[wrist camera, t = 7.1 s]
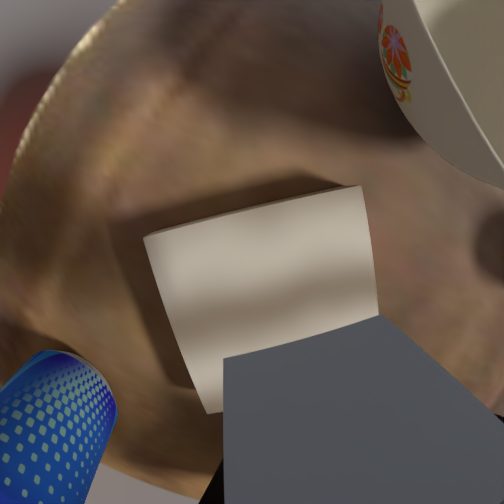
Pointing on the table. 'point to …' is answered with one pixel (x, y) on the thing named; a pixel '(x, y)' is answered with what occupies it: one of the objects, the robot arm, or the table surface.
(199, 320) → the birch base
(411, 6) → the bowl
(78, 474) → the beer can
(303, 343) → the slate block
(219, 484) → the robot arm
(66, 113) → the table surface
